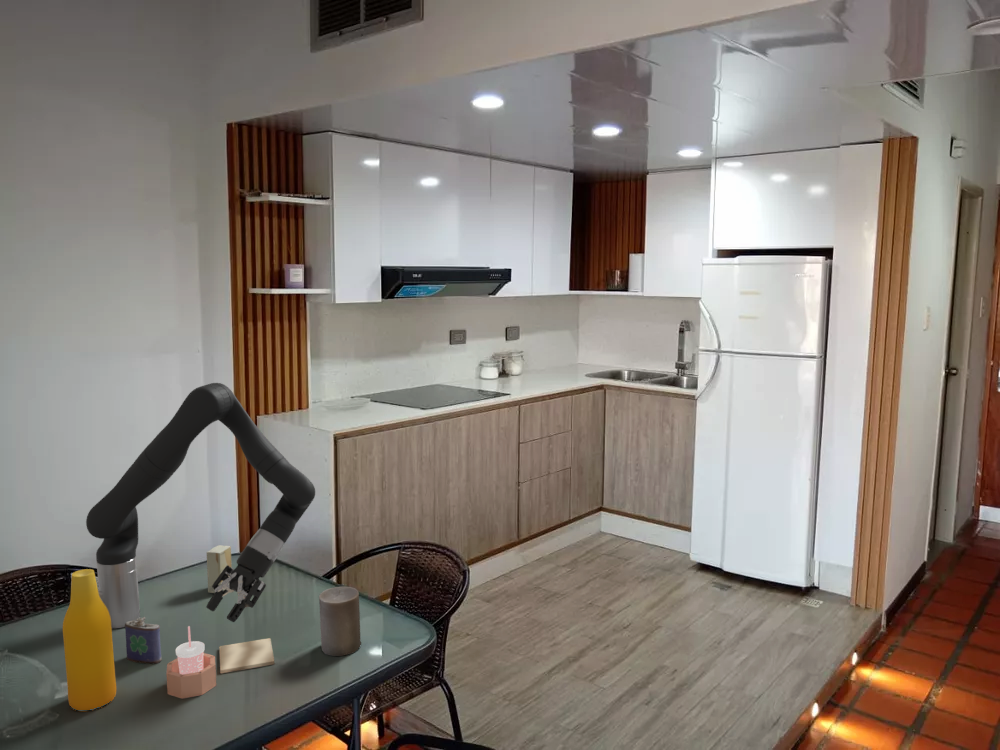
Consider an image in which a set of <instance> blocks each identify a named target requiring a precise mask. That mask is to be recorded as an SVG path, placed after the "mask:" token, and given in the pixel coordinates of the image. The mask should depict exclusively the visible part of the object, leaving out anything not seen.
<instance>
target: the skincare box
mask: <svg viewBox="0 0 1000 750" xmlns="http://www.w3.org/2000/svg"><path fill="white" fill-rule="evenodd" d="M226 566H230V567H231V568H233V567H232V548H231V546H230V545H220V544H217V545H216V546H214V547H213V548H211V549H210V550H208V551H206V569H207V570H206V571H207V593H209V594H214V593H215V590H214V588H212V585H213V584H214V582H215V581H216V579H217V578H218V577H219V575H220V574H221V573H222V571H223V570H224V568H225V567H226ZM222 582H223V581H221V582H220V583H219V584H218V585H219V586H220V585H221V584H222ZM224 590H225V589H223V591H224Z"/></svg>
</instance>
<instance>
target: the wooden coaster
mask: <svg viewBox="0 0 1000 750" xmlns="http://www.w3.org/2000/svg"><path fill="white" fill-rule="evenodd" d="M274 656H275V655H274V651H273V646H272V639H271V638H270V637H269V638H261V639H256V640H250V641H249V640H248V641H244V642H238V643H237V642H236V643H232V644H226V645H220V646H219V667H220V668H219V670H220V674H225V673H231V672H237V671H238V672H239V671H243V670H244V671H245V670H250V669H254V668H261V667H266V666H273V665H275V657H274Z"/></svg>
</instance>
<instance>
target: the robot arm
mask: <svg viewBox="0 0 1000 750" xmlns="http://www.w3.org/2000/svg"><path fill="white" fill-rule="evenodd" d="M216 421H219V422H220V423H221V424H223V425H224V426H226V427H227V428H228V430H229V431H230V432H231V433H232V435H233V436H234V437H235V439H236V440H237V442H238V444H239V446H240V449H241V451H242V453H243V454H244V458H246V460H247V461H248V463H249V464H250V466H251V467H252V468H253V469H254V470H255V471H256V472H257V473H258V474H259V475H260V476H261V477H262V478H263V479H264V480H265V481H266V482H268V483H269V484H271V485H274V487H276V488H277V489H278V491H279V492H280V493H282V496H281V498H280V499H279V500H278V502H277V504H276V505H275V507H274V509H273V510H272V511H271V512H270V513H269V514H268V515H267V517H266V518H265V520H264V521H263V522H262V524H261V525H260V527H259V529H257V531H256V532H255V534H253V536H252V537H251V539H250V540H249V541H248V543H247V544H246V546H245V547H244V549H243V550H242V552H241V553H240V555H239V556H238V558H237V559H236V564H237V566H236V567H235V568H233V567H232V568H231V567H230V566H226V567H225V568H224V570H223V571H222V573H221V574H220V575H219V577H218V578H217V579H216V581H215V582H214V584H213V585H212V588H214V590H215V593H213V595H212V596H211V598H210V599H209V601H208V602H207V604H206V607H205V608H206V609H208V610H210V611H211V612H215V611H216V609H217V608H218V607H219V605H220V603H221V602H222V600H223V599H224V597H225V596H226V595H228V594H229V593H233V592H236V594H237V601H236V602H237V603H236V602H235V603H234V605H233V607H232V608H231V609H230V611H229V613H228V614H227V616H226V619H227V620H228V621H230V622H231V623H235V622H236V621H237V620H238V619H239V617H240V616H241V614H242V613H243V611H244V609H247V608H251V609H252V608H254V607H255V605H256V604H257V602H258V600H259V598H260V597H261V595H262V593H263V592H264V591H265V588H266V587H267V584H266V583H265V582H264V581H262V580H261V579H260V578H265V576H266V575H267V573H268V572H269V570H270V569H271V567H272V565H273V564H274V562H275V561H276V559H277V558H278V556H279V555H280V553H281V551H282V549H283V547H284V545H285V543H286V542H287V541H288V539H289V538H290V537H291V534H292V533H293V531H294V529H295V526H296V524H297V523H298V522H299V521H300V519H301V518H302V517H303V515H305V512H306V511H307V509H308V508H309V506H310V505H311V503H312V502H313V501H314V499H315V496H316V488H315V486H314V483H313V482H312V481H311V480H310V479H309V478H308V476H306V475H305V474H304V473H302V471H300V470H299V469H297V467H295V466H293V464H291V463H290V462H289V461H288V460H287V458H286V457H285V456H284V455H283V454H282V453H281V452H280V451H279V450H278V449H277V448H276V447H275V445H273V443H272V442H270V441H269V439H268V438H267V437H266V436H265V435H264V434H263V433H262V431H261V430H260V428H259V427H258V426H257V425H256V424H255V422H254V421H253V419H252V418H251V417H250V416H249V414H248V412H247V411H246V409H245V408H244V407H243V405H242V403H241V402H240V401H239V400H238V398H237V397H236V395H235V394H234V392H233V391H232V390H231V389H230V388H229V387H228V386H227V385H225V384H223V383H222V382H213V383H209V384H208V383H207V384H205V385H201V386H199V387H196V388H195V389H193V390H192V391H190V392H189V393H188V395H186V398H185V399H184V401H182V403H181V405H180V406H179V408H178V410H177V411H176V412H175V414H174V415H173V417H172V418H171V419H170V421H169V422H168V423H167V424H166V425H165V426H164V428H163V429H161V431H159V433H158V434H156V436H155V438H153V440H151V442H150V443H149V444H147V446H146V447H145V448H144V449H143V450H142V451H141V453H140V454H139V455H138V457H136V459H135V460H134V462H132V464H131V465H130V466H129V468H128V469H127V470H126V472H125V473H124V474H123V476H121V478H120V479H119V480H118V481H117V483H116V484H115V486H113V487H112V489H111V490H110V491H108V493H107V494H105V496H103V498H101V499H100V500H99V501H98V502H97V503H96V504H94V505H93V506H92V507H91V509H90V510H89V511H88V513H87V515H86V519H85V520H86V521H85V525H86V530H87V531H88V533H89V534H90V535H91V536H92V537H93V538H97V539H100V540H102V539H103V541H102V543H101V544H100V546H98V548H97V550H96V554H95V558H96V569H97V570H96V571H97V581H98V582H97V583H98V584H97V586H98V592H99V596H100V598H101V600H102V601H103V603H104V604H105V606H106V607H107V609H108V611H109V614H110V617H111V627H112V629H120V628H121V629H122V628H125V624H126V622H128V621H133V620H135V621H137V620H136V619H138V618H141V609H140V593H139V582H138V580H139V579H138V567H137V547H138V544H139V516H138V510H137V506H138V505H140V504H141V502H143V501H144V500H145V499H147V498H148V497H150V496H151V495H152V494H153V493H154V492H156V491H157V490H158V489H160V487H162V486H163V485H164V484H166V483H167V482H168V480H169V479H171V477H172V476H173V475H174V473H176V472H177V471H178V469H179V468H180V466H181V465H182V464H183V463H184V461H185V458H186V456H187V453H188V451H189V448H190V446H191V444H192V443H193V442H194V440H195V439H196V438H197V437H198V436H199V435H200V434H201V433H202V432H203V431H204V430H205V429H206V428H207V427H208V426H210V425H211V424H212V423H215V422H216ZM221 581H223V582H222V584H221V585H220V586H219V585H218V584H219V583H220V582H221ZM223 589H225V590H224V591H223ZM137 622H138V621H137Z"/></svg>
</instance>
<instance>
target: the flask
mask: <svg viewBox="0 0 1000 750" xmlns="http://www.w3.org/2000/svg"><path fill="white" fill-rule="evenodd" d="M136 620H137V621H135V620H133V621H128V622H126V624H125V627H124V629H125V645H126V646H125V647H126V649H125V650H126V660H127V661H129V662H134V663H140V664H148V665H153V664H154V665H157V664H159V663H160V662H161V661H162V648H161V646H162V645H161V634H160V633H161V632H160V631H161V630H160V629H161V627H160V625H159V624H155V623H154V624H153V623H145V620H146V616H143V617H140V618H138V619H136Z"/></svg>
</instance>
